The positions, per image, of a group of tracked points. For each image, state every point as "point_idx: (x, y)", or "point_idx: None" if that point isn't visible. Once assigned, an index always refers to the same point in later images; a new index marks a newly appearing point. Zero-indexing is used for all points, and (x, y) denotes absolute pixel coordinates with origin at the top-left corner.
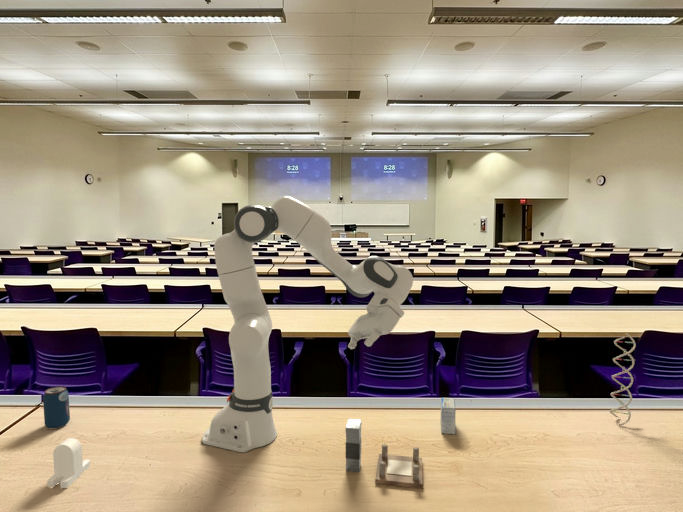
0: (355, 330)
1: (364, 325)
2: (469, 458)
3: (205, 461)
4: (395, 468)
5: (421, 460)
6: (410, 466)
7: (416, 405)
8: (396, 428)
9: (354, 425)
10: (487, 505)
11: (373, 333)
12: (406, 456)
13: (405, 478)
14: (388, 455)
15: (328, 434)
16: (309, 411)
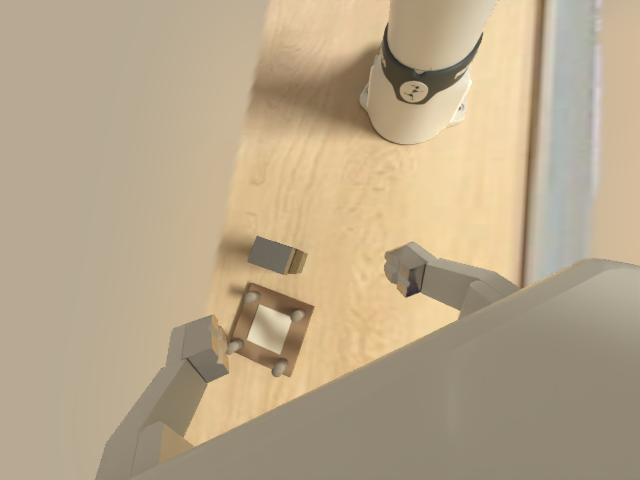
0: (507, 310)
1: (422, 430)
2: None
3: (344, 57)
4: (267, 321)
5: (282, 373)
6: (268, 347)
7: None
8: None
9: (261, 254)
10: None
11: (118, 428)
12: (297, 351)
13: (244, 328)
14: (305, 321)
15: (402, 233)
16: (508, 203)
